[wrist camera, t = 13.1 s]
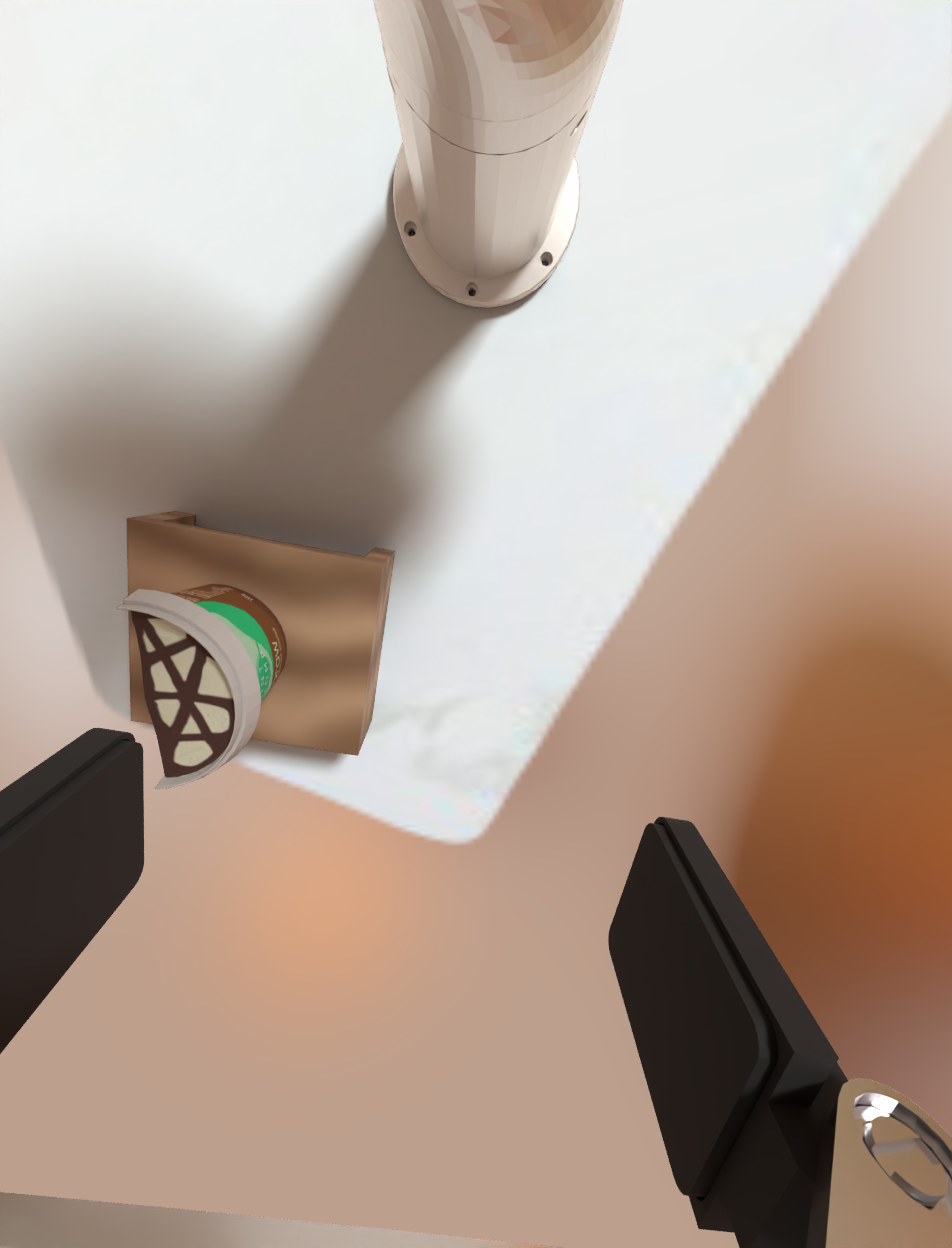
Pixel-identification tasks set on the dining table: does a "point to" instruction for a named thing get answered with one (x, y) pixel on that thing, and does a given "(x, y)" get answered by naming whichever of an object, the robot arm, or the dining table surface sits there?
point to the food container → (204, 672)
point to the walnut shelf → (280, 621)
